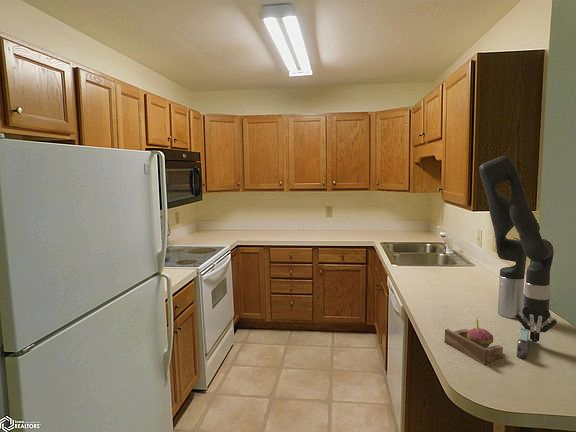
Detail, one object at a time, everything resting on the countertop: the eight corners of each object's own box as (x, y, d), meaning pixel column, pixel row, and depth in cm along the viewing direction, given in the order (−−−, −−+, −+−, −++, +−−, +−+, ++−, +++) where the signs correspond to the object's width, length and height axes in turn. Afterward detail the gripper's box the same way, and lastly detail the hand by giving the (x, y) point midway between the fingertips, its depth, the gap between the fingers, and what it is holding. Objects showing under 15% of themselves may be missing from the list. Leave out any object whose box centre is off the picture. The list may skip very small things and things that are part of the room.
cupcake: (481, 356, 128) (483, 323, 126) (460, 346, 136) (462, 314, 134) (498, 351, 132) (500, 318, 130) (477, 341, 139) (478, 310, 138)
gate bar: (526, 354, 128) (526, 344, 127) (518, 352, 129) (518, 342, 129) (528, 338, 139) (528, 329, 139) (520, 337, 141) (521, 327, 140)
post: (520, 354, 129) (521, 338, 128) (528, 358, 126) (530, 342, 125) (514, 355, 128) (515, 340, 127) (522, 360, 125) (523, 344, 124)
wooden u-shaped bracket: (463, 337, 142) (463, 325, 141) (504, 359, 126) (505, 345, 125) (444, 342, 139) (444, 329, 138) (484, 365, 123) (485, 350, 122)
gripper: (514, 295, 133) (512, 341, 135) (560, 301, 126) (557, 350, 128) (515, 289, 139) (513, 333, 142) (559, 295, 132) (556, 341, 134)
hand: (534, 341), depth 135 cm, fingers closed
